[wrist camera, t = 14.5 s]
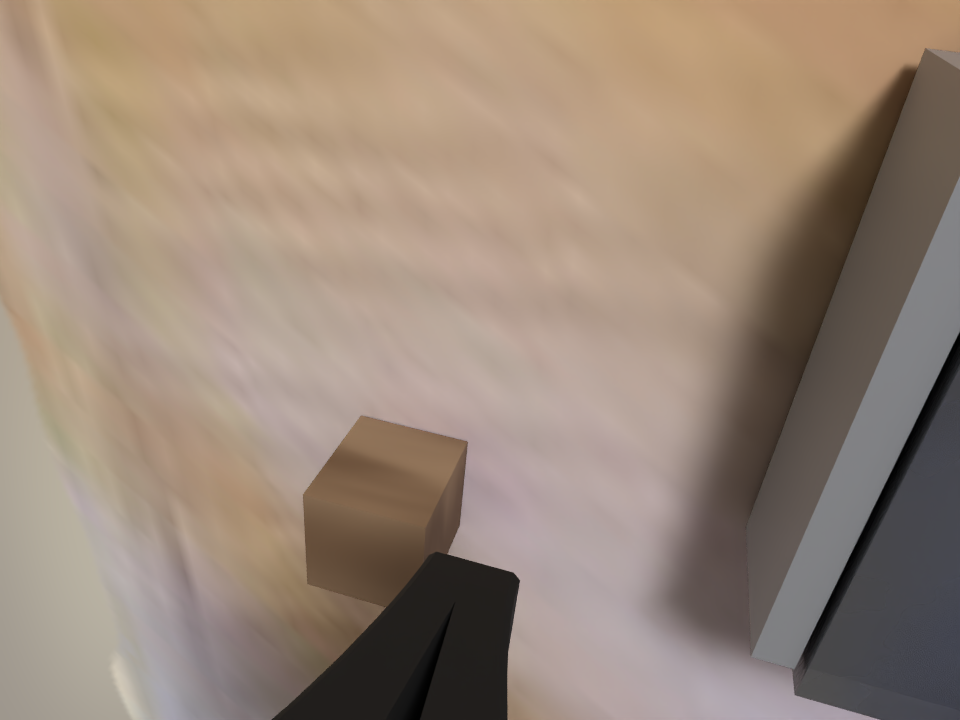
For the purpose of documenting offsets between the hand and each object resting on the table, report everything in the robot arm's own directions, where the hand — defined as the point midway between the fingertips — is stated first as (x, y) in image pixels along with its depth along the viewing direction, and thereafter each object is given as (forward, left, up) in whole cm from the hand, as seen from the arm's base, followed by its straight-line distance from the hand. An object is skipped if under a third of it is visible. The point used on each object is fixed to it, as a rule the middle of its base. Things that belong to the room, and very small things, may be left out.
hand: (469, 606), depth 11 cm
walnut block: (-7, +4, -10) cm, 13 cm away
